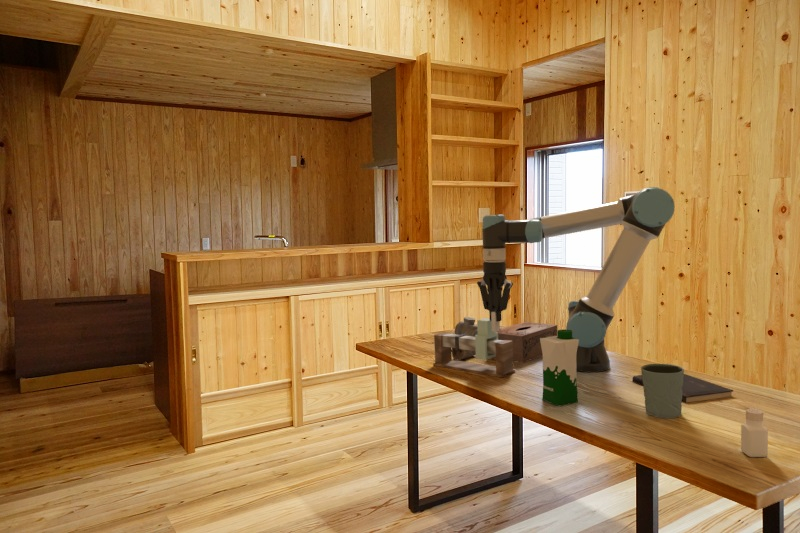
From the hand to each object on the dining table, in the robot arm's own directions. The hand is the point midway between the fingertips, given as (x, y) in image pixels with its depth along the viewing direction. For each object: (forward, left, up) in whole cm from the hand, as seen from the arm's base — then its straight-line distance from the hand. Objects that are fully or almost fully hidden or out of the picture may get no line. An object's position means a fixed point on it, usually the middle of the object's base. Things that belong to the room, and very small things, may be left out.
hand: (495, 330), depth 198 cm
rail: (+10, 0, -15) cm, 18 cm away
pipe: (+25, -14, -15) cm, 33 cm away
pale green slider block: (+4, 0, -10) cm, 10 cm away
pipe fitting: (+38, -38, -15) cm, 56 cm away
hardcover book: (-54, -15, -15) cm, 58 cm away
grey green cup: (-57, +10, -15) cm, 60 cm away
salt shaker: (-81, +26, -15) cm, 86 cm away
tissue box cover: (+7, -30, -15) cm, 34 cm away
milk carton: (-31, +16, -15) cm, 38 cm away
